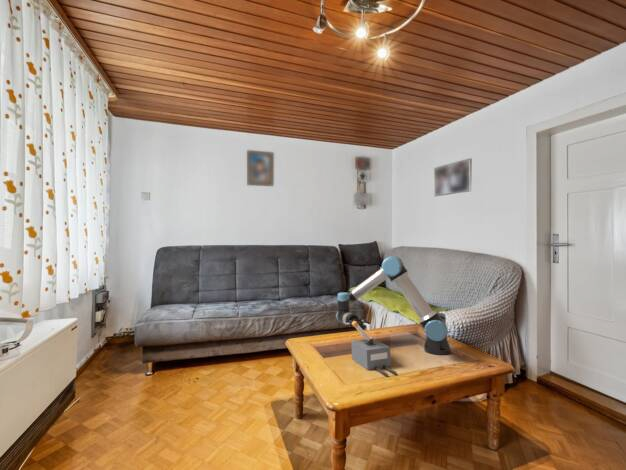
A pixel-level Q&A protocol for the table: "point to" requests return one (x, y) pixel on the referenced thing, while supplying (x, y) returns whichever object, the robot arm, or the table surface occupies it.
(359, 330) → the breaker lever
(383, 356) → the grey power plug
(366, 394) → the table surface
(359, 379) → the table surface
